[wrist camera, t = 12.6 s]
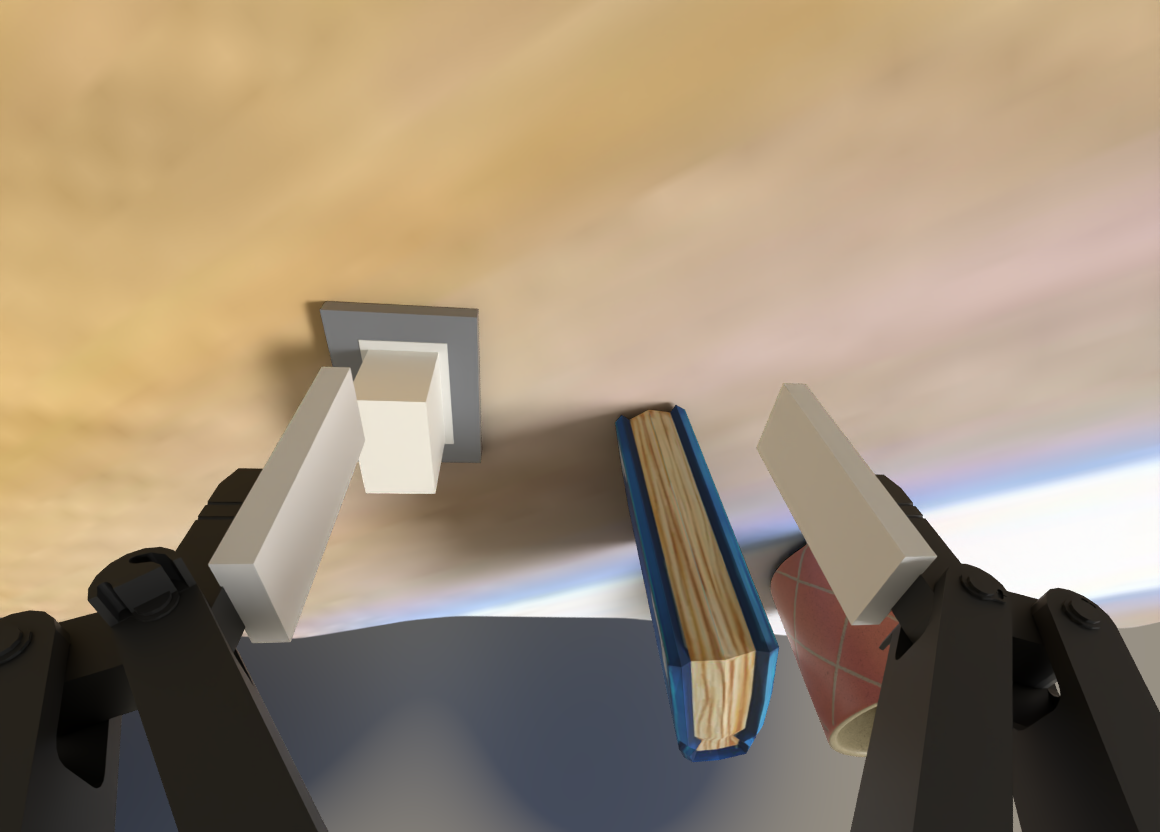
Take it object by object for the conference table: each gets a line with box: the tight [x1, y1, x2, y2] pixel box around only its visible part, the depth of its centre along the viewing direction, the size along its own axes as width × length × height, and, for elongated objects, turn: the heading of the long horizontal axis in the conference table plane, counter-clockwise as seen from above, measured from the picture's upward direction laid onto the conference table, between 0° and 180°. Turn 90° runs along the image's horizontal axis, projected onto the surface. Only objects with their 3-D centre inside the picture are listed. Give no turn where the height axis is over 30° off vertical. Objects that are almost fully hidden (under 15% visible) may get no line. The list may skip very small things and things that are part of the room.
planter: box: [770, 544, 899, 757], centre depth 62 cm, size 19×19×20 cm
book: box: [615, 405, 779, 762], centre depth 47 cm, size 22×7×25 cm, turn 10°
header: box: [320, 301, 482, 463], centre depth 44 cm, size 16×12×5 cm
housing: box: [353, 350, 445, 494], centre depth 42 cm, size 10×6×7 cm, turn 174°
